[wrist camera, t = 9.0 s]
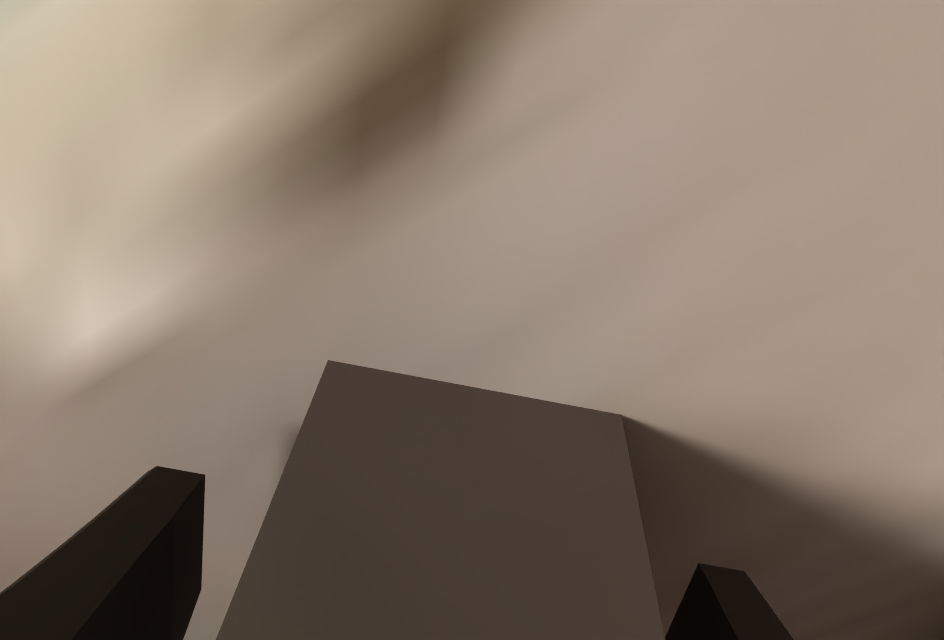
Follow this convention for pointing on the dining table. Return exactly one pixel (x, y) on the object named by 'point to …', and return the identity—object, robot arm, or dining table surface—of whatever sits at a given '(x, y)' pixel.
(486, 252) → the dining table surface
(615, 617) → the grey block
